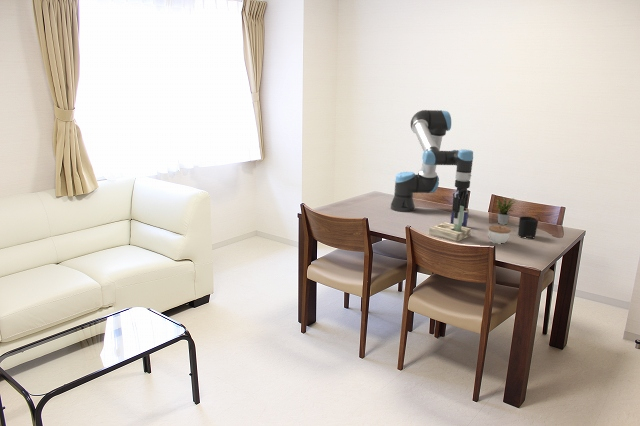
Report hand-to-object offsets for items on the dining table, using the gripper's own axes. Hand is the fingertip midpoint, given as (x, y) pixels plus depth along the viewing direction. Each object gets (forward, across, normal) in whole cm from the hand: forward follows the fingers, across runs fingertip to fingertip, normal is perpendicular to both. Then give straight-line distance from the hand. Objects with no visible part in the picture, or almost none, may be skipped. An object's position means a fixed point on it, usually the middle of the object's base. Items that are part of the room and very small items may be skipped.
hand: (458, 223), depth 271 cm
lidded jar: (+8, +9, -19) cm, 22 cm away
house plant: (+8, +46, -6) cm, 47 cm away
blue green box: (+8, +20, +10) cm, 24 cm away
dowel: (+5, 0, 0) cm, 5 cm away
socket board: (+8, 0, +4) cm, 9 cm away
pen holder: (+8, +31, -25) cm, 41 cm away
